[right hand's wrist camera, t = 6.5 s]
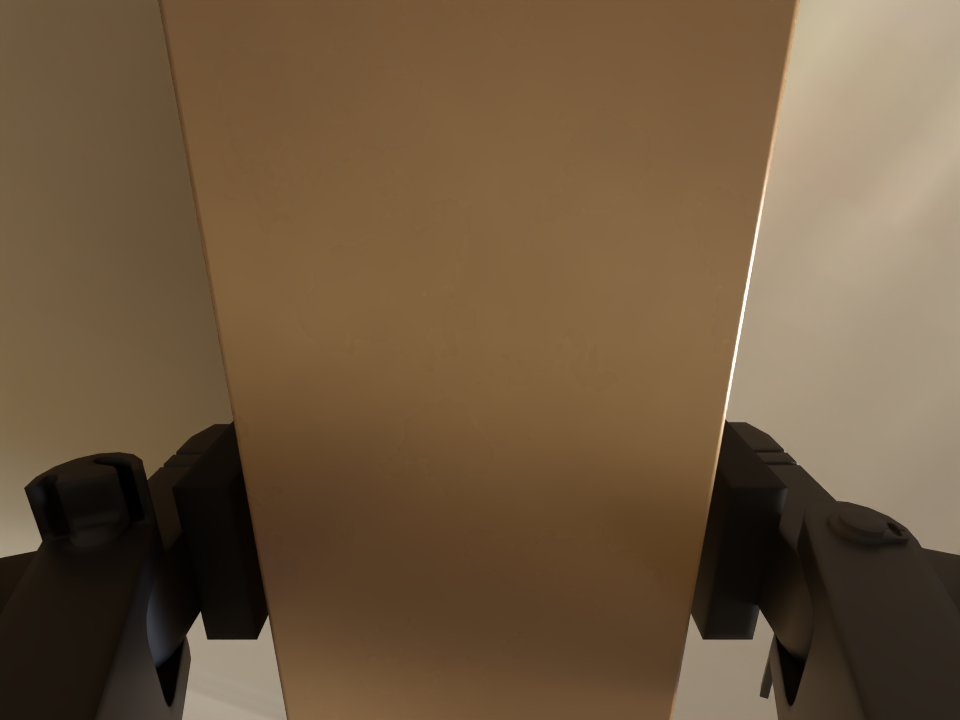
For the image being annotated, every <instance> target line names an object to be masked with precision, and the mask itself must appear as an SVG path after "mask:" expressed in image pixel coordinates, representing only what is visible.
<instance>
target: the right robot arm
mask: <svg viewBox="0 0 960 720" xmlns="http://www.w3.org/2000/svg"><path fill="white" fill-rule="evenodd" d="M24 489H25V492H26V495H27V497H28V500H29V503H30V506H31V509H32V512H33V515H34V518H35V520H36V523H37V526H38V529H39V532H40V535H41V538H42V543H41V545H40V547H39V548H38V550H37V551H34V552H29V553H24V554H19V555H13V556H8V557H3V558H0V720H182V715H183V709H184V702H185V695H186V689H187V682H188V675H189V669H190V662H191V656H190V649H189V644H188V640H187V636H186V634H187V633H188V631H189V629H190V628H191V626H192V624H193V623H194V621H195V619H196V618H197V616H198V615H199V613H200V611H201V614H202V618H203V623H204V627H205V631H206V635H207V640H257V638H258V636H259V634H260V632H261V629H262V627H263V625H264V623H265V621H266V619H267V616H268V609H267V604H266V598H265V593H264V587H263V581H262V576H261V570H260V565H259V559H258V553H257V548H256V542H255V537H254V531H253V526H252V520H251V514H250V509H249V503H248V498H247V492H246V486H245V481H244V475H243V470H242V464H241V459H240V453H239V447H238V442H237V436H236V431H235V425H234V421H233V422H232V423H231V424H214V425H212V426H211V427H209V428H207V429H205V430H203V431H201V432H200V433H198V434H196V435H194V436H192V437H191V438H190V439H189V440H188V441H187V442H186V443H185V444H184V445H183V446H182V447H181V448H180V449H179V450H178V451H177V452H176V455H173V456H172V457H171V458H170V459H169V460H168V461H167V462H166V463H165V464H164V467H161V468H159V469H158V470H157V471H156V472H155V473H154V474H153V475H152V476H151V477H150V478H149V479H148V480H147V478H146V474H145V470H144V466H143V462H142V460H141V459H140V458H138V457H137V456H135V455H134V454H127V453H121V452H114V453H100V454H95V455H90V456H86V457H81V458H77V459H74V460H71V461H69V462H66V463H63V464H60V465H58V466H55V467H53V468H51V469H50V470H48V471H46V472H44V473H42V474H41V475H39V476H37V477H36V478H35V479H33V480H32V481H31V482H30V483H29V484H28V485H27V486H26V487H25V488H24ZM759 610H761V612H762V613H763V615H764V617H765V618H766V620H767V621H768V623H769V625H770V626H771V628H772V630H773V631H774V636H773V640H772V644H771V648H770V652H769V656H768V660H767V664H766V668H765V672H764V676H763V680H762V684H761V690H760V697H764V698H767V699H768V697H769V693H770V689H771V686H772V685H773V687H774V694H775V700H776V707H777V714H778V720H960V555H955V554H950V553H945V552H940V551H935V550H929V549H924V548H922V547H921V546H920V544H919V542H918V540H917V539H916V538H915V537H914V536H913V535H912V534H911V533H910V531H909V530H908V529H907V528H906V527H904V526H903V525H901V524H900V523H898V522H897V521H895V520H894V519H892V518H891V517H889V516H887V515H884V514H882V513H880V512H877V511H875V510H873V509H871V508H868V507H864V506H860V505H857V504H853V503H849V502H840V501H836V500H835V499H834V498H833V497H832V496H831V495H830V494H829V493H828V492H827V491H826V490H825V489H824V488H823V487H821V486H820V485H819V484H818V483H817V482H816V481H815V480H814V479H813V478H812V477H811V476H810V475H809V474H808V473H807V472H806V471H805V470H804V469H803V468H802V467H801V466H800V465H797V462H796V461H795V460H794V459H793V458H792V457H791V456H790V455H789V454H788V453H784V449H783V448H782V447H781V446H780V445H779V444H778V443H777V442H776V441H775V440H774V439H773V438H772V437H770V436H769V435H768V434H766V433H764V432H763V431H761V430H759V429H757V428H755V427H753V426H751V425H750V424H748V423H746V422H727V421H726V420H725V423H724V429H723V435H722V440H721V446H720V451H719V457H718V463H717V468H716V474H715V480H714V485H713V491H712V496H711V502H710V508H709V513H708V519H707V524H706V530H705V536H704V541H703V547H702V552H701V558H700V564H699V569H698V575H697V581H696V586H695V592H694V597H693V603H692V609H691V614H692V616H693V619H694V621H695V623H696V625H697V627H698V629H699V632H700V634H701V636H702V638H703V640H753V635H754V631H755V627H756V623H757V618H758V614H759Z"/></svg>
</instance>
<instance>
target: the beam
mask: <svg viewBox="0 0 960 720" xmlns="http://www.w3.org/2000/svg"><path fill="white" fill-rule="evenodd" d="M158 1H159V6H160V12H161V17H162V23H163V28H164V34H165V40H166V45H167V51H168V56H169V62H170V68H171V73H172V79H173V84H174V90H175V95H176V101H177V107H178V112H179V118H180V123H181V129H182V135H183V140H184V146H185V151H186V157H187V163H188V168H189V174H190V179H191V185H192V190H193V196H194V202H195V207H196V213H197V218H198V224H199V230H200V235H201V241H202V246H203V252H204V257H205V263H206V269H207V274H208V280H209V285H210V291H211V297H212V302H213V308H214V313H215V319H216V324H217V330H218V336H219V341H220V347H221V352H222V358H223V364H224V369H225V375H226V380H227V386H228V392H229V397H230V403H231V408H232V414H233V419H234V425H235V431H236V436H237V442H238V447H239V453H240V459H241V464H242V470H243V475H244V481H245V486H246V492H247V498H248V503H249V509H250V514H251V520H252V526H253V531H254V537H255V542H256V548H257V553H258V559H259V565H260V570H261V576H262V581H263V587H264V593H265V598H266V604H267V609H268V615H269V620H270V626H271V632H272V637H273V643H274V648H275V654H276V660H277V665H278V671H279V676H280V682H281V688H282V693H283V699H284V704H285V710H286V715H287V720H672V715H673V710H674V704H675V698H676V693H677V687H678V682H679V676H680V670H681V665H682V659H683V653H684V648H685V642H686V637H687V631H688V625H689V620H690V614H691V609H692V603H693V597H694V592H695V586H696V581H697V575H698V569H699V564H700V558H701V552H702V547H703V541H704V536H705V530H706V524H707V519H708V513H709V508H710V502H711V496H712V491H713V485H714V480H715V474H716V468H717V463H718V457H719V451H720V446H721V440H722V435H723V429H724V423H725V418H726V412H727V407H728V401H729V395H730V390H731V384H732V378H733V373H734V367H735V362H736V356H737V350H738V345H739V339H740V334H741V328H742V322H743V317H744V311H745V306H746V300H747V294H748V289H749V283H750V277H751V272H752V266H753V261H754V255H755V249H756V244H757V238H758V233H759V227H760V221H761V216H762V210H763V205H764V199H765V193H766V188H767V182H768V176H769V171H770V165H771V160H772V154H773V148H774V143H775V137H776V132H777V126H778V120H779V115H780V109H781V104H782V98H783V92H784V87H785V81H786V75H787V70H788V64H789V59H790V53H791V47H792V42H793V36H794V31H795V25H796V19H797V14H798V8H799V2H800V0H158Z"/></svg>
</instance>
